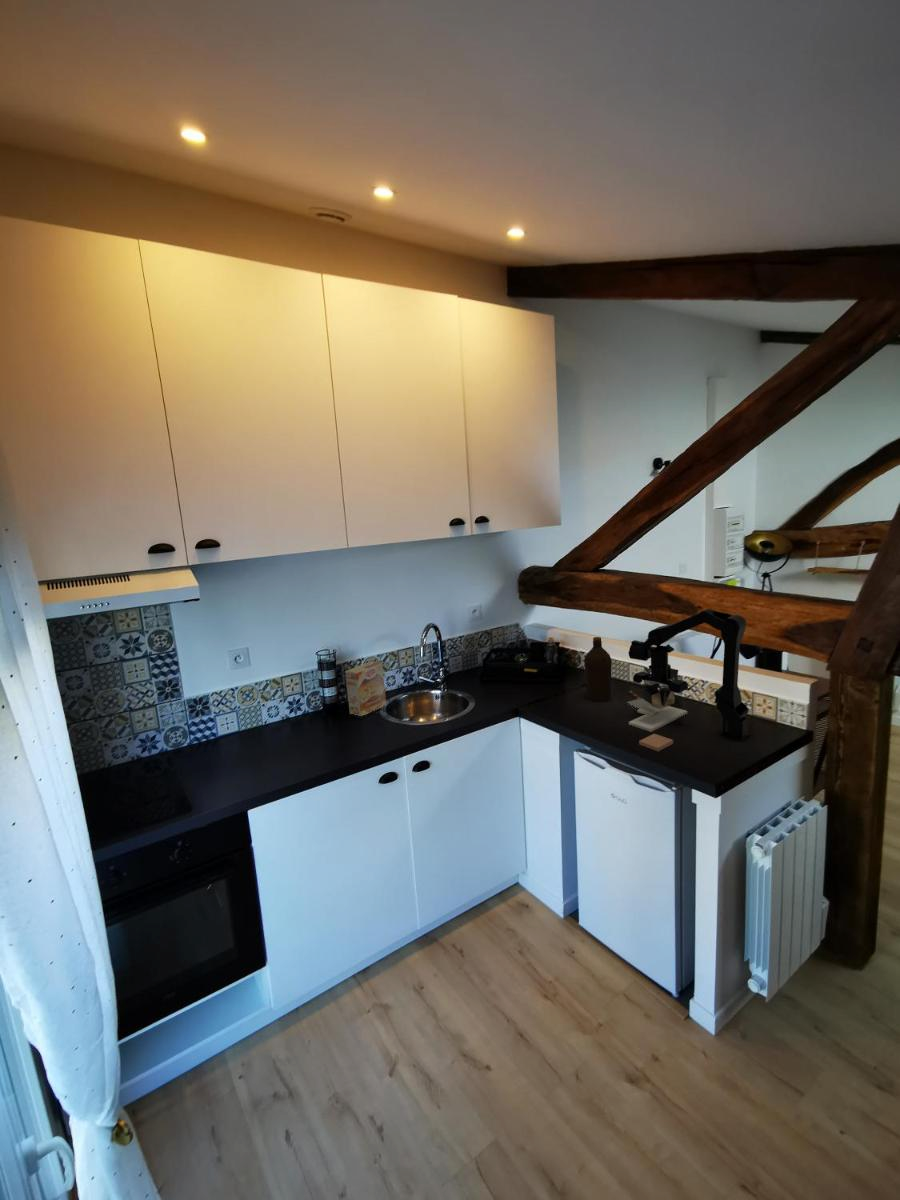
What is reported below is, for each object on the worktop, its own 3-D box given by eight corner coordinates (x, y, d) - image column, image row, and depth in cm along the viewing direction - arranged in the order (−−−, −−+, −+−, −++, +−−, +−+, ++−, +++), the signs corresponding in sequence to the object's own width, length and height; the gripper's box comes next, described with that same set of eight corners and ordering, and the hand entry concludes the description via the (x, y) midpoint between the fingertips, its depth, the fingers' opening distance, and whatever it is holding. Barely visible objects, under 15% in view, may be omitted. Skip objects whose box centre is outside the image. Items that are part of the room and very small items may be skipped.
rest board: (687, 713, 203) (687, 711, 203) (651, 731, 191) (651, 729, 191) (665, 707, 211) (665, 704, 210) (628, 724, 198) (628, 721, 198)
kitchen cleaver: (613, 693, 228) (637, 689, 229) (613, 695, 228) (637, 691, 229) (639, 716, 204) (665, 711, 205) (639, 718, 205) (665, 714, 205)
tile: (673, 740, 181) (658, 747, 176) (673, 744, 181) (658, 752, 177) (654, 733, 187) (639, 740, 182) (654, 738, 187) (639, 745, 182)
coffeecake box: (361, 720, 223) (356, 673, 219) (349, 717, 227) (344, 670, 223) (387, 707, 234) (382, 662, 231) (375, 704, 239) (370, 660, 235)
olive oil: (617, 696, 225) (616, 636, 221) (603, 704, 218) (601, 642, 214) (595, 691, 233) (593, 633, 229) (580, 699, 226) (578, 639, 222)
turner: (664, 700, 207) (663, 687, 206) (678, 703, 202) (678, 690, 201) (637, 712, 198) (637, 698, 197) (652, 716, 193) (652, 702, 192)
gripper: (696, 662, 195) (697, 704, 197) (650, 653, 210) (650, 692, 212) (678, 669, 188) (679, 713, 191) (631, 659, 203) (632, 700, 206)
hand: (660, 704), depth 200 cm, fingers closed on turner, 2 cm apart
